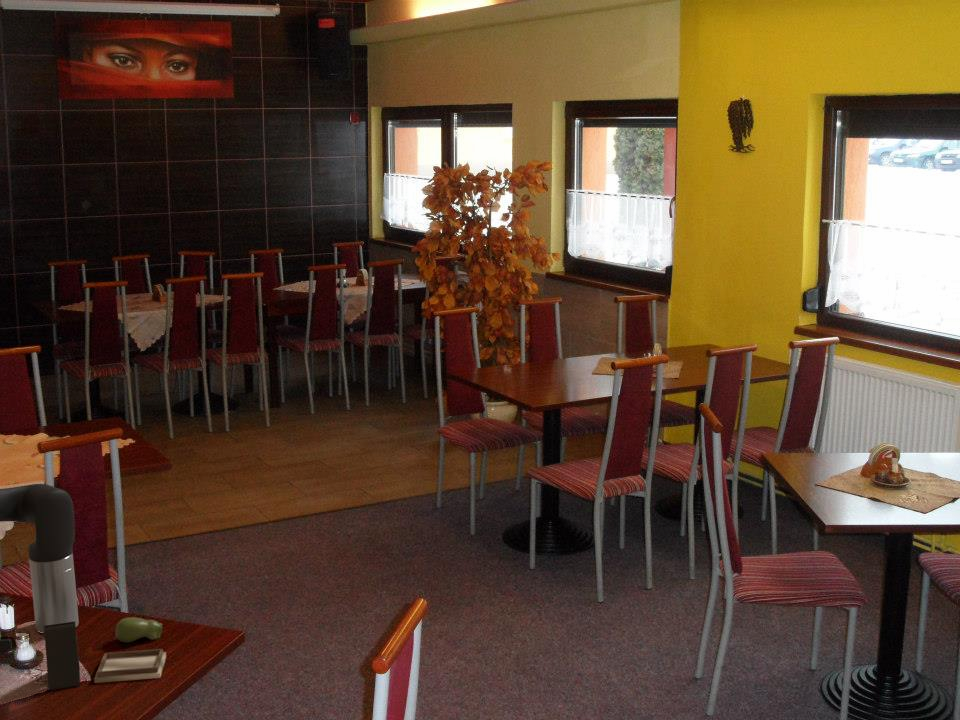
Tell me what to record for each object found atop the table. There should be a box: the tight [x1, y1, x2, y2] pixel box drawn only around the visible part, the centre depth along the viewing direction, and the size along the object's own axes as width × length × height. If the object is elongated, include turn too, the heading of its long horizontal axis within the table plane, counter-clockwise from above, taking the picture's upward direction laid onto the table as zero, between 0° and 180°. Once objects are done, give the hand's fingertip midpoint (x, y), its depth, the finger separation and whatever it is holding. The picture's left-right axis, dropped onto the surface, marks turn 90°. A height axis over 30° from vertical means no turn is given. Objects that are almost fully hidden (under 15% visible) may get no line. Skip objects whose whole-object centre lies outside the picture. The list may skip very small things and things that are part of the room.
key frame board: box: [93, 648, 167, 684], centre depth 236 cm, size 10×13×2 cm
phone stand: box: [43, 621, 81, 692], centre depth 231 cm, size 9×6×12 cm, turn 19°
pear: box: [115, 616, 163, 644], centre depth 250 cm, size 6×5×10 cm
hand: (5, 653), depth 230 cm, fingers open, 8 cm apart
